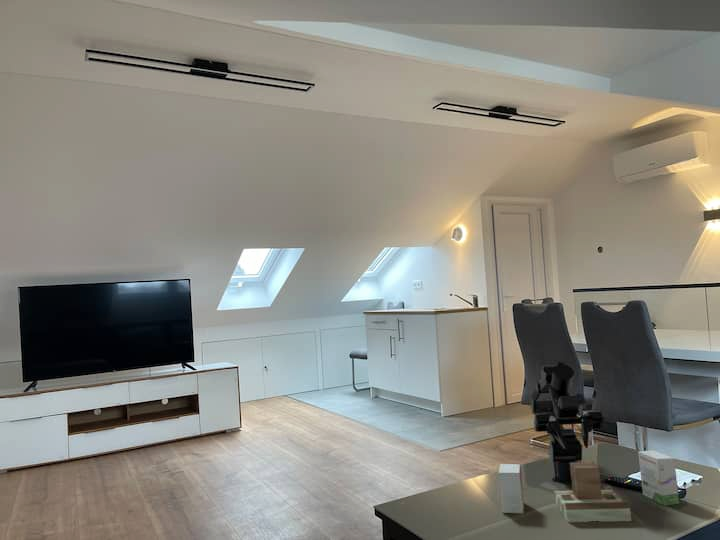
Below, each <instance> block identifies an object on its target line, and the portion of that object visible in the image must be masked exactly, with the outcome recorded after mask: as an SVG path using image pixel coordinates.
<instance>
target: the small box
mask: <svg viewBox="0 0 720 540" xmlns="http://www.w3.org/2000/svg"><path fill="white" fill-rule="evenodd" d="M497 474H498V483H499V494H500V505H501V512H502V513H503V514H524V513H525V512H524V509H525V508H524V506H525V502H524V501H525V499H524V491H523V490H524V489H523V479H522V468H521V464H516V463H514V464H513V463H500V464H499V469H498V473H497Z"/></svg>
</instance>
